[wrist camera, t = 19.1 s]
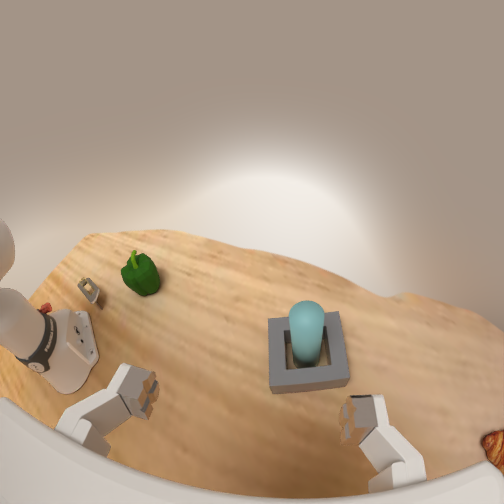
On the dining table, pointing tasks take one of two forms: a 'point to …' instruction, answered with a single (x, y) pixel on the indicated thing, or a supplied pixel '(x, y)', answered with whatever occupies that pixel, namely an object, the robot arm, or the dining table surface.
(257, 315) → the dining table surface
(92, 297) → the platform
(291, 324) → the peg
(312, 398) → the dining table surface
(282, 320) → the socket block
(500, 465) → the croissant
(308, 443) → the dining table surface
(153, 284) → the bell pepper
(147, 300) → the dining table surface
